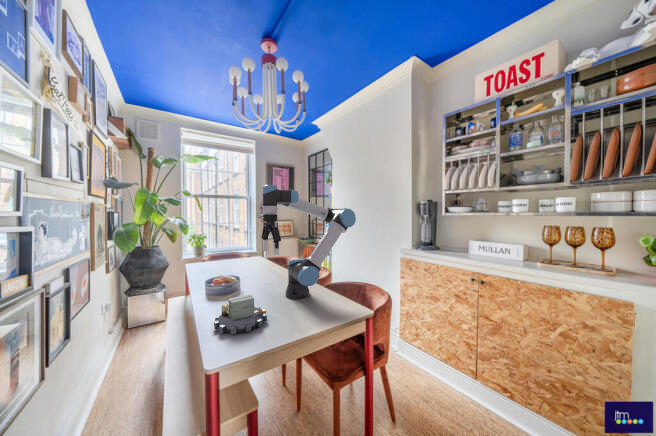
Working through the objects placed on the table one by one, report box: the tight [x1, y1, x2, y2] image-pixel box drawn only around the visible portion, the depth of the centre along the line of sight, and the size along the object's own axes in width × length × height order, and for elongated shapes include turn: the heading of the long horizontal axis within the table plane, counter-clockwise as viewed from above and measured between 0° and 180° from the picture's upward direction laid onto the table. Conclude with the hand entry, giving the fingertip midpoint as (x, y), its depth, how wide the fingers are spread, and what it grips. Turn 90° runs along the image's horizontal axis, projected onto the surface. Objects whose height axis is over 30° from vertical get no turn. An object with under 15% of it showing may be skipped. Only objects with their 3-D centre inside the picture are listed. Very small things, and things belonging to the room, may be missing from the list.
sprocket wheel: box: [213, 303, 268, 335], centre depth 107 cm, size 23×23×7 cm
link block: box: [228, 293, 255, 321], centre depth 106 cm, size 6×10×8 cm, turn 127°
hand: (270, 253), depth 123 cm, fingers open, 13 cm apart
